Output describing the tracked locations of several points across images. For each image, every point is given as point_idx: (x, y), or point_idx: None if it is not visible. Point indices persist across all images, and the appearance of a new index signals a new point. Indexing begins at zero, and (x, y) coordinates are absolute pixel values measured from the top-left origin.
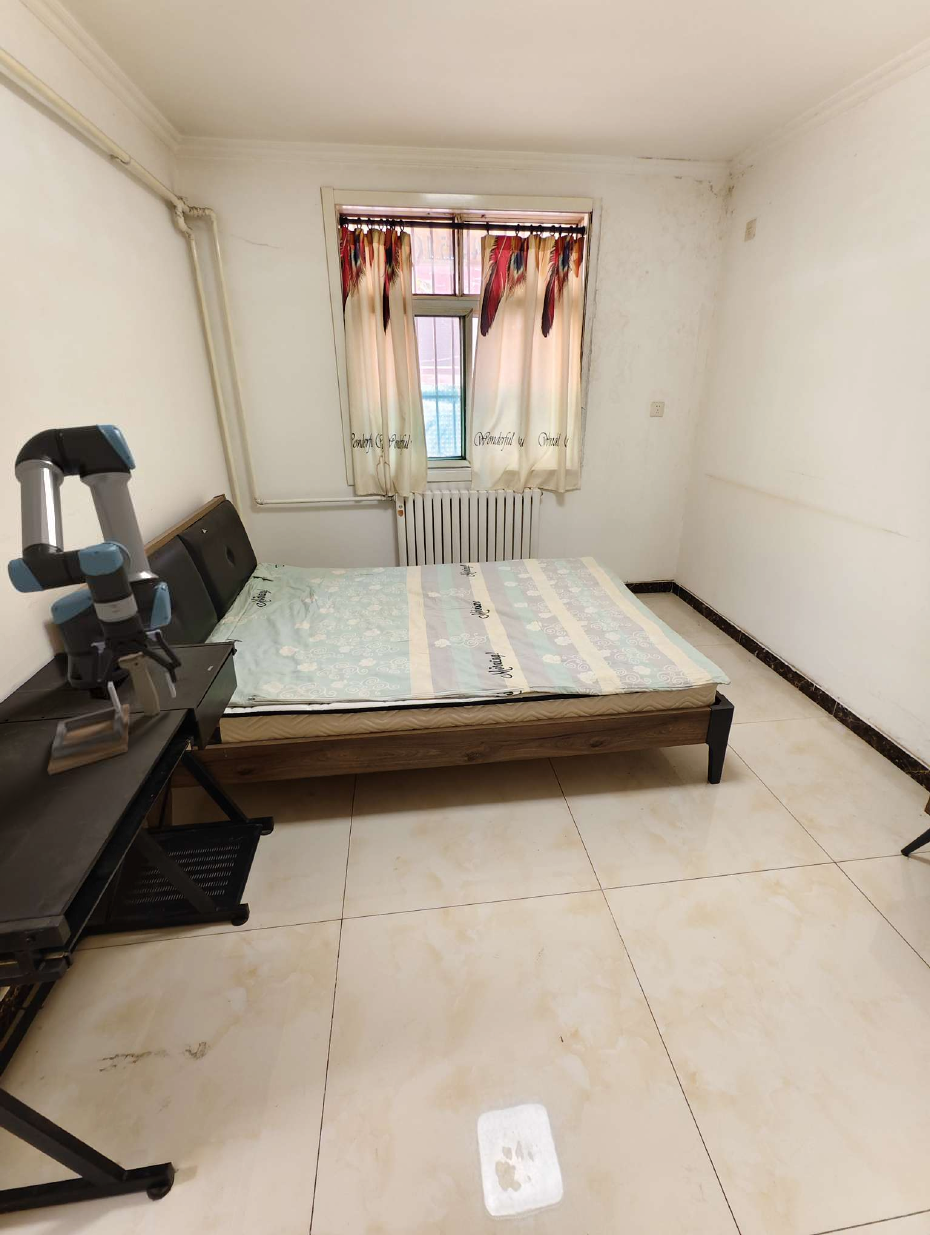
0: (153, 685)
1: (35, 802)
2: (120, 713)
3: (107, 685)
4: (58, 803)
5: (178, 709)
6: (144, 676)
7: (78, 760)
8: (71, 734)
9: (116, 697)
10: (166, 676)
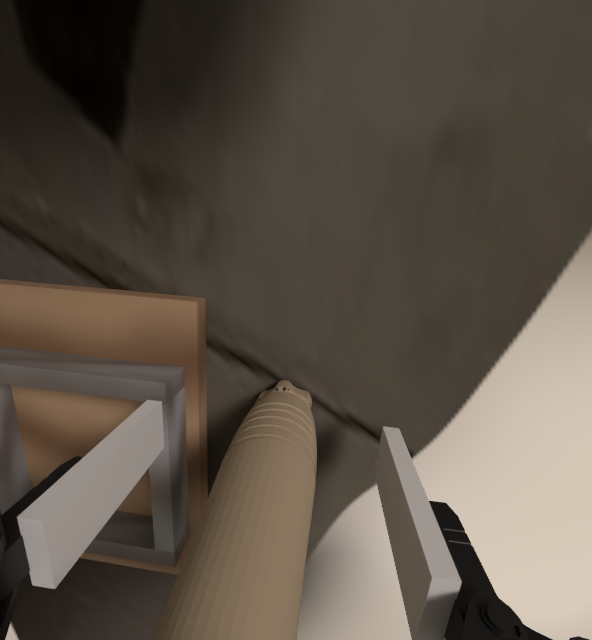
0: (311, 513)
1: (39, 605)
2: (167, 454)
3: (20, 580)
4: (86, 635)
5: (373, 435)
6: None
7: (87, 558)
8: (28, 405)
9: (124, 472)
10: (408, 616)
